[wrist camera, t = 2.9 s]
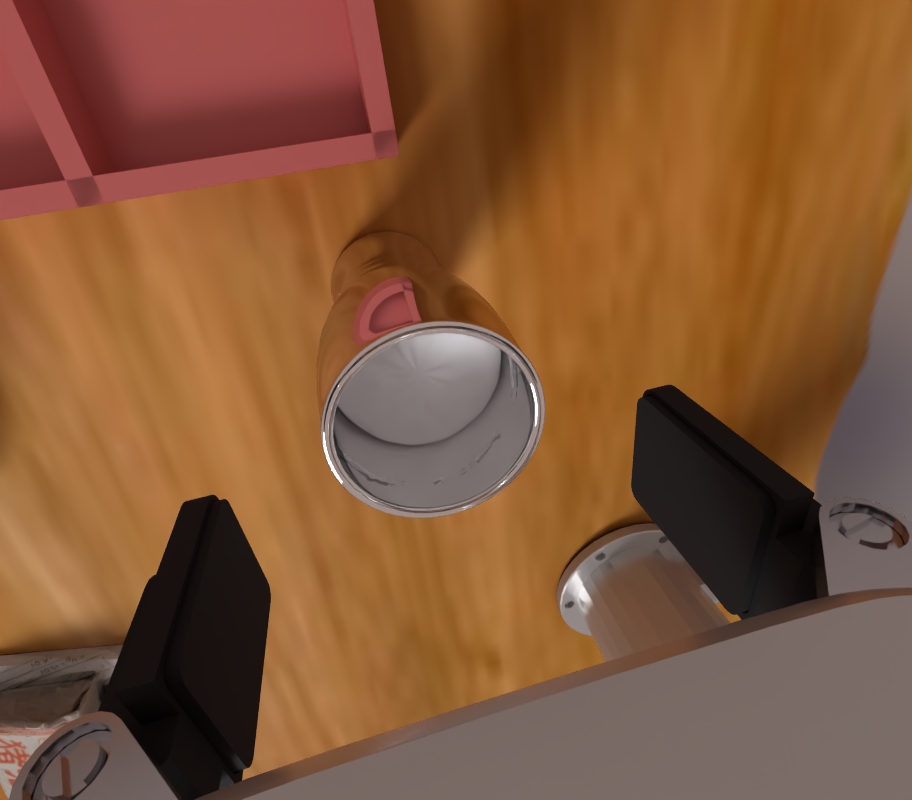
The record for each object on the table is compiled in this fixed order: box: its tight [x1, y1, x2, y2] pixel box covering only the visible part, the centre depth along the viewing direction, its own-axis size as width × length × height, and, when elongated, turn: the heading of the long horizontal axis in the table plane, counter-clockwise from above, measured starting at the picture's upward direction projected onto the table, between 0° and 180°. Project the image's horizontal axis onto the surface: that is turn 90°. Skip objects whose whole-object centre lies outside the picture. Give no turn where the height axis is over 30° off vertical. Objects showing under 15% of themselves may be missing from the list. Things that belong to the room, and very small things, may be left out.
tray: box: [0, 0, 400, 220], centre depth 18 cm, size 25×13×3 cm, turn 98°
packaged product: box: [0, 645, 123, 800], centre depth 36 cm, size 18×5×10 cm
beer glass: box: [316, 231, 545, 518], centre depth 21 cm, size 7×7×15 cm
